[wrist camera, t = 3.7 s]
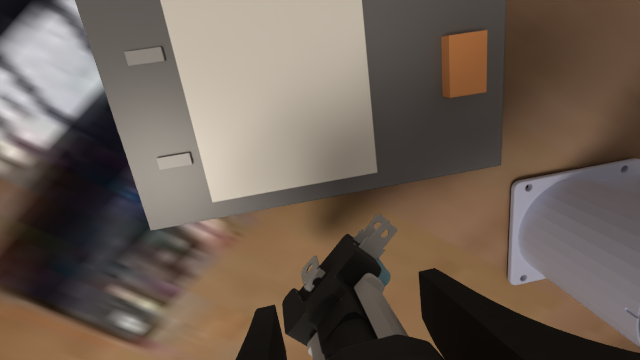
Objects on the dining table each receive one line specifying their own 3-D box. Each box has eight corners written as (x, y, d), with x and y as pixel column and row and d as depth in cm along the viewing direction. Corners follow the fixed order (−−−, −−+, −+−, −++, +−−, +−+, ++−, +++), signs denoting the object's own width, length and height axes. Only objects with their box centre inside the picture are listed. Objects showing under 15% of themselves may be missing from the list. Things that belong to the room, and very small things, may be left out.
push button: (340, 182, 16) (453, 308, 7) (420, 244, 18) (609, 421, 8) (253, 291, 17) (241, 551, 7) (337, 342, 18) (421, 617, 9)
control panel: (483, -61, 19) (519, -82, 16) (481, 156, 23) (510, 169, 20) (89, -14, 17) (56, -29, 14) (161, 215, 21) (146, 237, 18)
